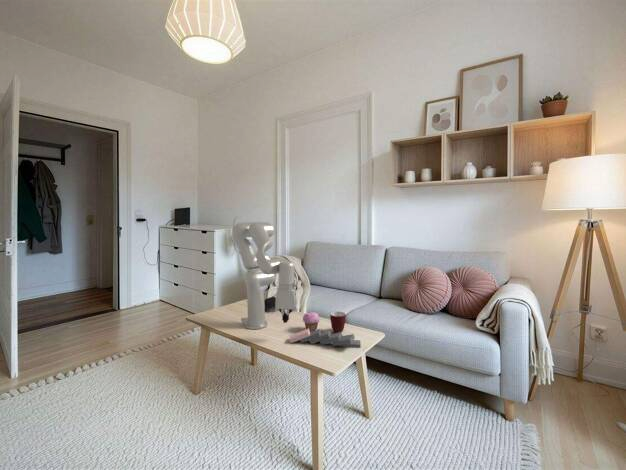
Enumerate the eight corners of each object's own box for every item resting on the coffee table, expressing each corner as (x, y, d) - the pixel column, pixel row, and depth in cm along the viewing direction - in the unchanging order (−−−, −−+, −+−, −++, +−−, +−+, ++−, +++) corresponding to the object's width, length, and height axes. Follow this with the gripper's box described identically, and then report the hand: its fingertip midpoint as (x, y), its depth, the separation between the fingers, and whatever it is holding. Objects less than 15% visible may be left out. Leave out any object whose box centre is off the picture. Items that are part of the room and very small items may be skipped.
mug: (336, 326, 171) (336, 309, 170) (350, 329, 167) (350, 311, 166) (327, 333, 162) (327, 314, 161) (341, 336, 158) (341, 317, 157)
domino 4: (331, 342, 146) (349, 339, 141) (335, 337, 150) (353, 333, 145) (333, 346, 146) (351, 343, 141) (337, 340, 150) (354, 337, 145)
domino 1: (299, 339, 150) (318, 332, 148) (302, 335, 155) (319, 328, 153) (301, 343, 150) (320, 336, 148) (303, 339, 155) (321, 332, 153)
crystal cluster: (259, 308, 207) (257, 294, 205) (279, 305, 211) (277, 291, 209) (262, 316, 195) (260, 301, 193) (283, 312, 198) (281, 298, 197)
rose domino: (288, 339, 150) (307, 332, 149) (290, 335, 155) (308, 328, 154) (290, 343, 150) (309, 335, 149) (292, 339, 155) (310, 332, 154)
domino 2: (309, 340, 149) (327, 333, 147) (311, 336, 154) (329, 330, 152) (310, 344, 149) (329, 337, 147) (312, 340, 154) (330, 333, 152)
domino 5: (339, 343, 146) (360, 344, 145) (339, 339, 151) (360, 340, 149) (339, 347, 146) (360, 348, 145) (339, 343, 151) (360, 344, 150)
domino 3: (319, 341, 147) (338, 336, 144) (323, 336, 152) (340, 331, 148) (321, 345, 147) (339, 340, 144) (324, 340, 152) (342, 335, 148)
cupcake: (300, 329, 167) (299, 311, 166) (312, 326, 172) (312, 308, 172) (309, 334, 160) (309, 316, 159) (322, 330, 165) (322, 312, 165)
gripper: (302, 285, 154) (301, 320, 156) (273, 283, 156) (272, 317, 158) (299, 289, 147) (298, 325, 149) (269, 287, 149) (269, 323, 151)
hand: (285, 321), depth 153 cm, fingers closed
